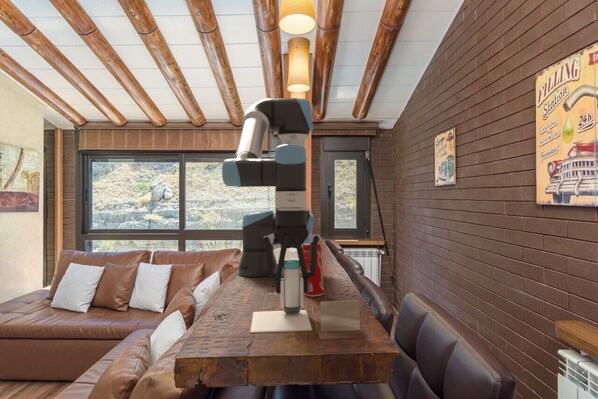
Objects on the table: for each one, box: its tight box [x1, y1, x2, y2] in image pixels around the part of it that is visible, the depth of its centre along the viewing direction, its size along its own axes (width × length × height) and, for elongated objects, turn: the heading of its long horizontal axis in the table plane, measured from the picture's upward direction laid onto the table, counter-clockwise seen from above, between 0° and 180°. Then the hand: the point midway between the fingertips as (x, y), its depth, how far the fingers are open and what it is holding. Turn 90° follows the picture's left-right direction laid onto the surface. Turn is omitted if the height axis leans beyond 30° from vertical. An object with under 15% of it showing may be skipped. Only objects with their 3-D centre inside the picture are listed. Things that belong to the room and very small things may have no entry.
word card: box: [317, 299, 365, 340], centre depth 67 cm, size 3×9×7 cm, turn 95°
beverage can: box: [302, 242, 325, 297], centre depth 96 cm, size 6×6×15 cm
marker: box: [282, 259, 301, 314], centre depth 79 cm, size 4×4×12 cm
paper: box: [250, 309, 313, 334], centre depth 75 cm, size 12×13×1 cm
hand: (291, 305), depth 79 cm, fingers closed on marker, 4 cm apart
